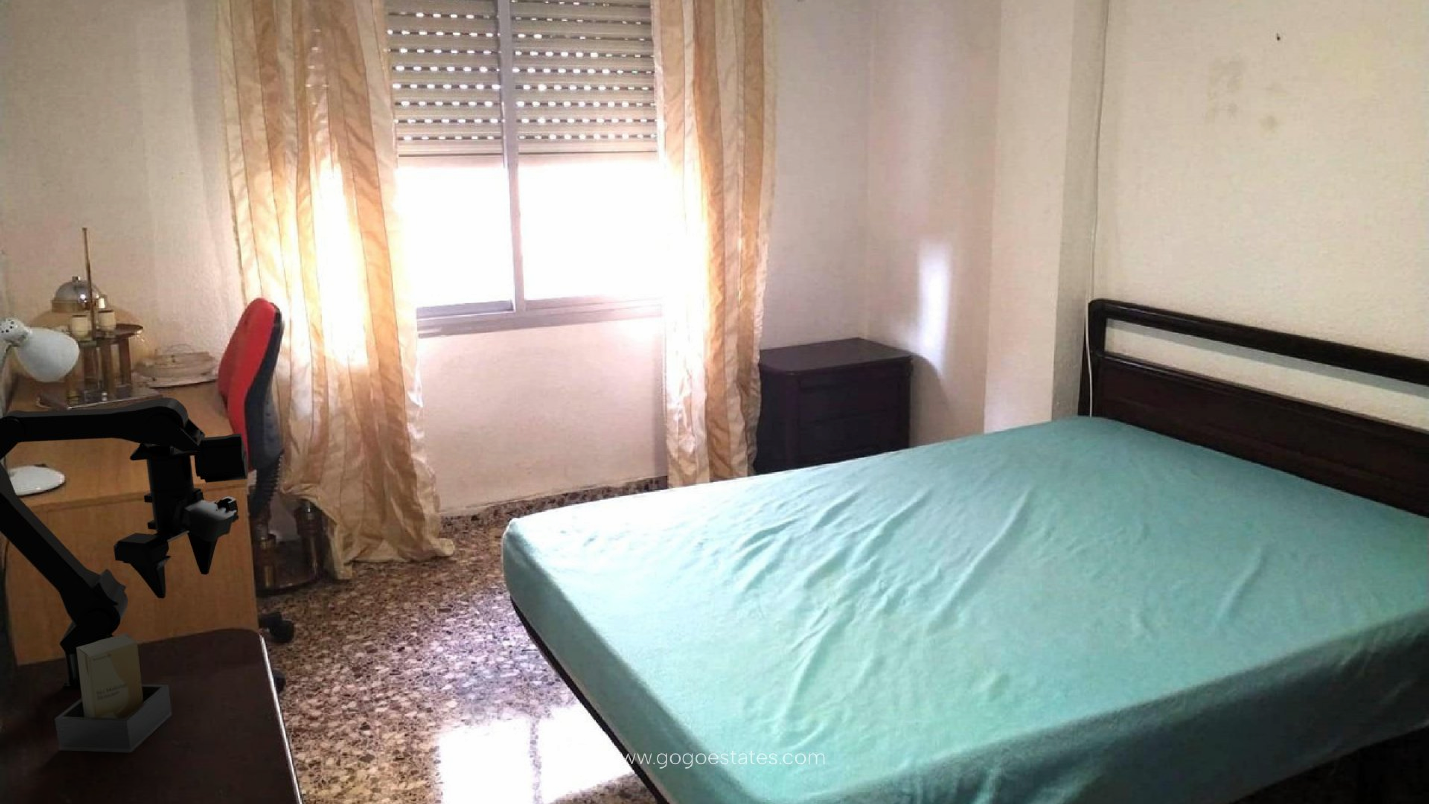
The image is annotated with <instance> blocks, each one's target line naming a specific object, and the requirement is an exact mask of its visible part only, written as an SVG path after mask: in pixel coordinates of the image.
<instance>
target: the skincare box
mask: <svg viewBox="0 0 1429 804" xmlns="http://www.w3.org/2000/svg"><path fill="white" fill-rule="evenodd" d="M113 636H114V637H111V638H107V639H102V640H99V641H96V642H94V643H91V644H87V645H84V646H80V647H77V648H76V649H77V658H78V667H79V675H80V684H81V689H80V691H81V698H82V702H83V710H84V717H92V718H122V719H125V718H126V717H127V716H128V715H130V714H131V713H132V712H133V711H134V710H135V709H137V708H138V707H139V706H140V705H141V704H142V703H143V694H142V684H143V683H142V676H141V669H140V658H139V649H138V642H137V641H136V640H135V639H134V638H133V637H131V636H130V635H128V634H127V633H121V634H117V635H113Z"/></svg>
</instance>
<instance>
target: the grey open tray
mask: <svg viewBox="0 0 1429 804" xmlns="http://www.w3.org/2000/svg"><path fill="white" fill-rule="evenodd" d="M141 684H142V694H143V703H142V704H141V705H140V706H139V707H138V708H137V709H135V710H134V711H133V712H132V713H131V714H130V715H128V716H127V717H126V718H125V719H122V718H92V717H84V710H83V702H82V697H80V698H79V699H78V700H77V701H76V702H74V703H73V704H71V705H70V707H68V708H67V709H65V710H64V711H63V712H62V713H60V714H59V715H58V716H56V717H55V718H54V722H55V728H56V730H55V731H56V736H57V741H58V742H57V743H58V749H59V751H70V752H71V751H72V752H74V751H75V752H76V751H77V752H100V753H103V752H104V753H105V752H106V753H107V752H108V753H132V752H133V751H134V750H136V749H137V748H139V746H140V745H141V744H143V742H144V741H145V740H146V739H147V738H148V737H150V736H151V734H153V733H154V732H155V731H156V730H157V729H159V727H160V726H161V725H162V724H163V723H165V722H166V721H167V720H168V719H170V717H171V716H173V712H172V705H171V697H170V688H169V684H149V683H147V684H143V683H141Z"/></svg>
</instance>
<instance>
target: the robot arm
mask: <svg viewBox="0 0 1429 804" xmlns="http://www.w3.org/2000/svg"><path fill="white" fill-rule="evenodd" d="M95 439H96V440H98V439H102V440H103V439H115V440H124V441H129V442H132V443H136V444H139V445H138V447H137V448H136V449H134V450H133V452H132V453H131V455H130V456H129V460H130V461H142V460H143V461H144V460H145V461H146V469H147V475H148V476H147V477H148V484H149V491H150V492H149V493H147V494H144V495H143V500H144V501H143V502H144V503H149V504H150V503H151V508H152V509H151V510H152V515H153V516H152V518H153V519H152V520H150V521H148V522H147V523H146V524H147V529H148V530H153V531H154V530H155V533H154V534H152V533H151V534H150V533H142V532H135V533H133V534H130V535H128V536H126V537H124V538H121V539H118V540H117V541H116V543H115V544H114V545H113V554H114V560H115V562H116V561H118V562H122V563H123V564H130V566H131V567H132V568H133V569H134V570H135V572H137V573H138V574H139V575H140V577H141V578H142V579H143V580H144V582H145V583H146V585H147V586H148V588H149V589H151V591H152V592H153V594H154V596H156V598H158V599H165V598H166V596H167V595H166V591H167V586H166V570H165V566H166V565H167V563H168V561H170V559H171V558H172V556H171V555H167V554H168V552H169V550H170V545H169V543H170V542H172V541H175V540H176V539H179V538H180V537H183V536H185V535H187V537H188V541H189V543H190V546H191V549H192V553H193V555H194V558H195V559H194V560H195V562H196V565H197V567H198V569H199V573H200V574H201V575H208V574H209V573H210V569H211V566H212V561H213V558H214V554H215V550H216V547H217V543H218V540H219V539H220V538H221V537H223V536H224V535H225V536H226V535H229V534H230V532H231V527H232V525H233V523H235V522H236V521H239V517H240V516H239V514H238V513H239V507H238V501H237V499H236V498H234V497H232V496H230V495H228V496H226V497H223V498H221V499H219V500H218V502H217V501H216V500H212V501H208V500H205V498H204V492H203V491H202V488H201V487H200V488H198V487H195V483H194V476H193V467H192V458H191V456H192V457H193V456H194V457H193V458H194V459H193V460H194V469H195V475H196V477H197V478H198V477H199V479H200V480H201V481H202V480H204V482H205V483H206V484H207V483H219V482H221V483H222V482H229V481H242V480H248V477H249V461H248V452H247V450H246V449H245V448H246V447H245V443H244V440H243V434H242V433H232V434H228V435H219V436H207V437H206V433H205V432H204V431H203V430H202V429H200V428H199V427H198V425H196V424H195V423H194V422H193V420H191V419H190V417H189V413H188V411H187V409H186V407H185V406H184V404H183V403H182V402H180V401H179V400H177V399H175V398H172V397H168V396H167V397H160V398H154V399H148V400H144V401H139V402H136V403H131V404H128V405H124V406H119V407H114V408H92V409H91V408H89V409H88V408H87V409H65V410H64V409H63V410H62V409H60V410H35V411H34V410H33V411H26V410H20V409H18V410H17V409H16V410H11V411H9V412H7V413H5V414H4V415H3V416H2V417H0V533H1V534H2V535H3V537H5V538H6V540H8V542H10V544H11V545H13V547H15V548H16V550H18V551H19V552H20V553H21V555H22V556H23V558H24V557H25V559H26V560H27V561H28V562H29V563H30V564H31V565H32V566H33V567H34V568H35V569H36V570H37V571H38V572H39V573H40V574H41V575H42V576H43V577H44V579H45V580H47V582H49V584H51V586H52V587H53V588H54V589H55V590H56V591H57V593H58V594H59V596H60V599H61V602H62V604H63V606H64V609H65V611H66V614H67V615H68V617H69V618H70V620H71V622H70V624H69V626H68V627H67V629H66V631H65V633H64V634H63V636H62V639H61V640H60V642H59V645H60V647H61V648H62V650H63V652H64V657H65V663H66V670H67V676H68V679H67V680H66V681H64V682H63V683H61V688H62V689H75V690H77V689H78V690H81V684H80V675H79V667H78V658H77V649H76V648H77V647H80V646H84V645H87V644H91V643H94V642H96V641H99V640H102V639H107V638H111V637H114V636H115V635H113V634H114V632H116V630H118V628H119V626H120V624H121V622H122V619H124V616H125V613H126V611H127V609H128V605H129V597H128V595H127V593H126V592H125V591H126V589H127V585H125V584H123V583H120V582H119V581H118V580H117V579H116V578H115V575H114V574H113V573H112V572H111V571H110V570H109V569H108V568H106V569H104V570H103V571H102V572H101V573H97V572H95V571H93V570H91V569H88V568H87V567H85V566H84V565H83V563H81V562H80V561H79V559H78V558H77V557H76V556H75V555H74V554H73V553H72V552H71V551H70V550H69V549H68V548H67V547H66V545H65V544H63V542H62V541H61V540H60V539H59V538H58V537H57V536H56V535H55V534H54V533H53V532H52V531H51V530H50V529H49V528H48V527H47V525H45V524H44V523H43V521H42V520H41V519H40V518H39V517H38V516H37V515H36V514H35V513H34V512H33V511H32V510H31V509H30V508H29V506H28V505H26V503H25V502H24V501H22V499H21V498H20V497H19V496H18V494H17V493H16V490H15V489H14V486H13V483H12V480H11V478H10V476H9V474H8V472H7V470H6V468H5V467H4V465H3V464H2V462H1V460H3V459H4V458H5V457H6V456H7V455H8V454H9V453H10V452H11V451H12V450H13V449H14V448H15V447H16V446H17V445H18V444H19V443H31V442H32V443H33V442H53V441H55V442H56V441H73V440H74V441H76V440H95Z"/></svg>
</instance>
